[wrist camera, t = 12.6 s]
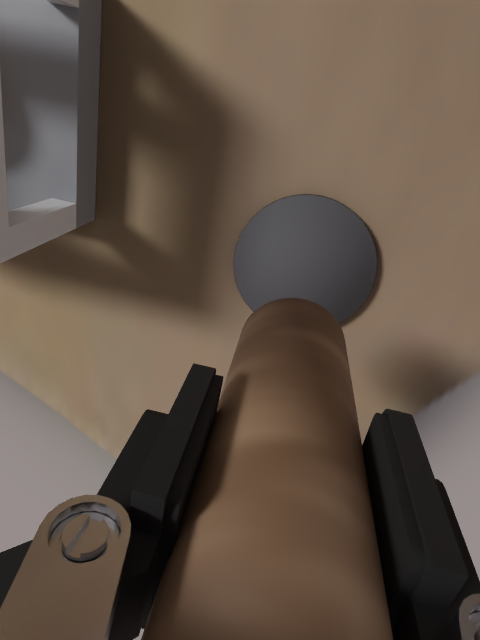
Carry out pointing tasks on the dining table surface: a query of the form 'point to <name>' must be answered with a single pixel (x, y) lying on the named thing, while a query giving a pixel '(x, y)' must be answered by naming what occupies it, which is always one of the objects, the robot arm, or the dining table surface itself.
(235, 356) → the brown wooden rod
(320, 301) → the mat
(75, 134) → the white hollow box
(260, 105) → the dining table surface
